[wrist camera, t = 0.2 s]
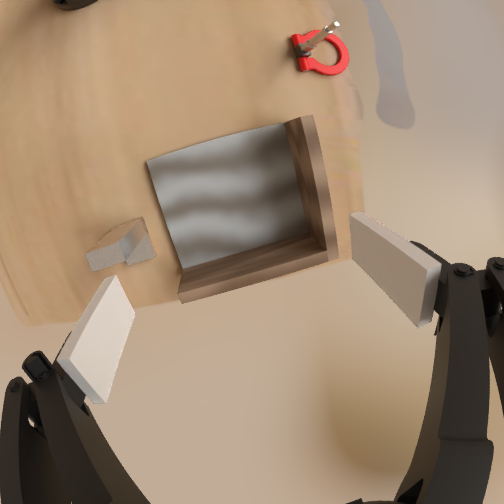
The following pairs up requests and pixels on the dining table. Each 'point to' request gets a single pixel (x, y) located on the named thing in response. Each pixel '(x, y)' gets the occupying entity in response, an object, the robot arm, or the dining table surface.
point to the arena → (246, 207)
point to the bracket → (122, 246)
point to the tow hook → (310, 41)
